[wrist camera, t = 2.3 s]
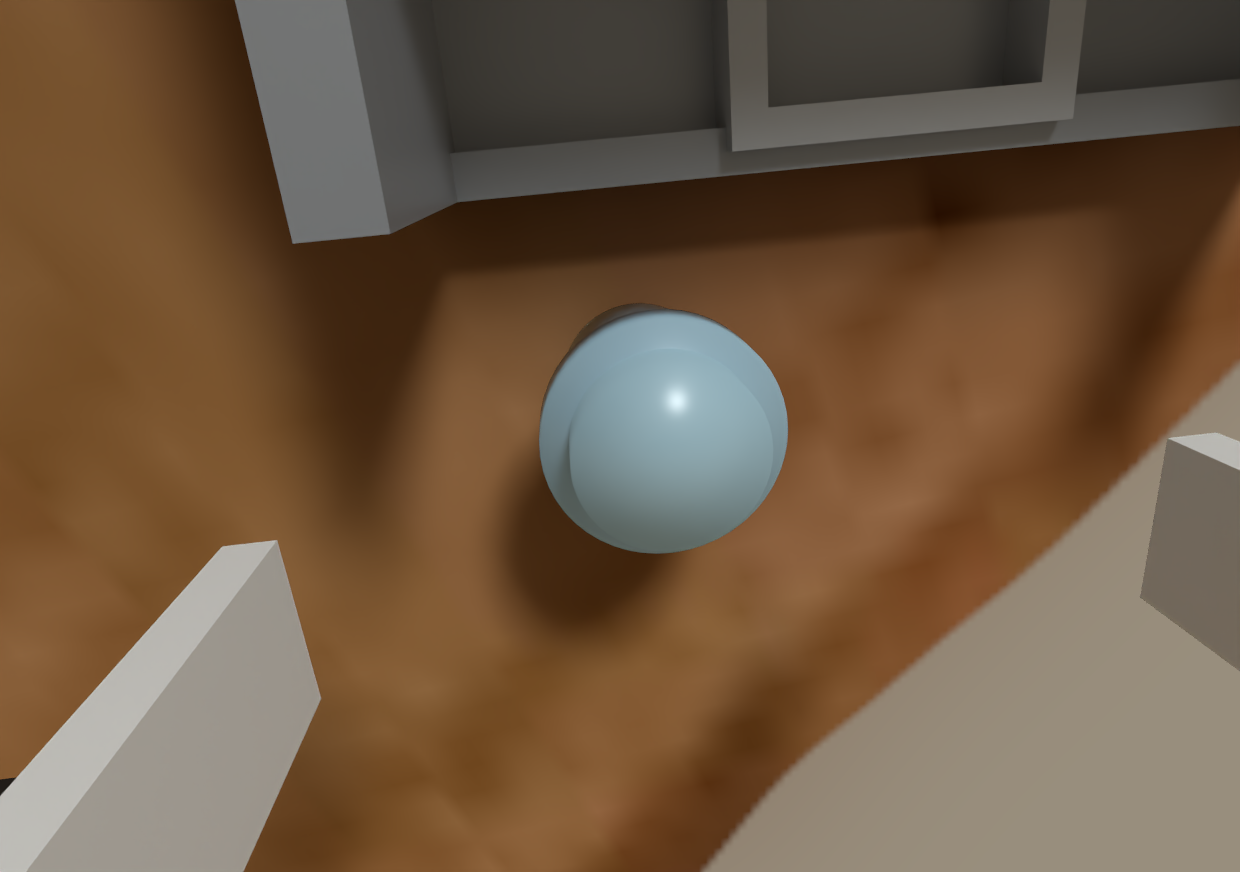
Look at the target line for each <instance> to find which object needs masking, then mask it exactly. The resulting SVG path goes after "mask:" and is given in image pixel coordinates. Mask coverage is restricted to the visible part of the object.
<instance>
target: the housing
mask: <svg viewBox="0 0 1240 872" xmlns="http://www.w3.org/2000/svg"><path fill="white" fill-rule="evenodd" d="M235 3H236V7H237V11H238V15H239V20H240V24H241V28H242V32H243V36H244V41H245V45H246V49H247V53H248V58H249V62H250V66H251V70H252V74H253V79H254V83H255V87H256V91H257V95H258V100H259V104H260V108H261V112H262V116H263V121H264V125H265V129H266V133H267V138H268V142H269V146H270V150H271V154H272V159H273V163H274V167H275V171H276V175H277V180H278V184H279V188H280V192H281V196H282V201H283V205H284V209H285V213H286V218H287V222H288V226H289V230H290V234H291V239H292V243H293V244H294V243H305V242H315V241H325V240H335V239H345V238H355V237H365V236H375V235H385V234H391V233H393V232H396V231H398V230H400V229H402V228H404V227H406V226H408V225H410V224H412V223H415V222H417V221H419V220H421V219H423V218H425V217H427V216H429V215H431V214H434V213H436V212H438V211H440V210H442V209H444V208H446V207H448V206H450V205H453V204H455V203H457V202H464V201H475V200H485V199H495V198H505V197H516V196H526V195H536V194H546V193H556V192H567V191H577V190H587V189H597V188H608V187H618V186H628V185H638V184H649V183H659V182H669V181H679V180H689V179H700V178H710V177H720V176H730V175H741V174H751V173H761V172H771V171H782V170H792V169H802V168H812V167H822V166H833V165H843V164H853V163H863V162H874V161H884V160H894V159H904V158H914V157H925V156H935V155H945V154H955V153H966V152H976V151H986V150H996V149H1007V148H1017V147H1027V146H1037V145H1047V144H1058V143H1068V142H1078V141H1088V140H1099V139H1109V138H1119V137H1129V136H1140V135H1150V134H1160V133H1170V132H1180V131H1191V130H1201V129H1211V128H1221V127H1232V126H1240V0H235Z"/></svg>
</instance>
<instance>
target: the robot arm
mask: <svg viewBox="0 0 1240 872" xmlns="http://www.w3.org/2000/svg"><path fill="white" fill-rule="evenodd" d="M1140 598H1142V599H1143V600H1144V601H1146V602H1147V603H1148V604H1150V605H1151V606H1153V607H1154V608H1155V609H1156V610H1158V611H1159V612H1161V613H1162V614H1163V615H1165V616H1166V617H1168V618H1169V619H1170V620H1171V621H1173V622H1174V623H1175V624H1177V625H1178V626H1179V627H1181V628H1182V629H1184V630H1185V631H1186V632H1188V633H1189V634H1190V635H1192V636H1193V637H1194V638H1196V639H1197V640H1199V641H1200V642H1201V643H1202V644H1204V645H1205V646H1207V647H1208V648H1209V649H1211V650H1212V651H1213V652H1215V653H1216V654H1217V655H1219V656H1220V657H1221V658H1223V659H1224V660H1225V661H1227V662H1228V663H1229V664H1231V665H1232V666H1234V667H1235V668H1236V669H1238V670H1239V671H1240V442H1239V441H1237V440H1234V439H1232V438H1229V437H1227V436H1224V435H1222V434H1219V433H1209V434H1200V435H1192V436H1182V437H1174V438H1168V439H1167V445H1166V450H1165V456H1164V462H1163V468H1162V474H1161V480H1160V486H1159V492H1158V497H1157V503H1156V509H1155V514H1154V520H1153V526H1152V532H1151V538H1150V543H1149V549H1148V555H1147V561H1146V567H1145V573H1144V578H1143V584H1142V591H1141V596H1140ZM320 700H321V697H320V693H319V690H318V686H317V682H316V679H315V675H314V671H313V668H312V664H311V661H310V657H309V653H308V650H307V646H306V643H305V639H304V635H303V632H302V628H301V625H300V621H299V617H298V614H297V610H296V607H295V603H294V599H293V596H292V592H291V589H290V585H289V581H288V578H287V574H286V571H285V567H284V563H283V560H282V556H281V553H280V549H279V545H278V542H277V540H275V541H266V542H258V543H249V544H240V545H232V546H223V547H221V549H220V550H219V551H218V552H217V553H216V554H215V555H214V556H213V558H212V559H211V560H210V561H209V562H208V563H207V564H206V565H205V567H204V568H203V569H202V570H201V571H200V572H199V573H198V574H197V576H196V577H195V578H194V579H193V580H192V581H191V582H190V583H189V585H188V586H187V587H186V588H185V589H184V590H183V591H182V592H181V594H180V595H179V596H178V597H177V598H176V599H175V600H174V601H173V603H172V604H171V605H170V606H169V607H168V608H167V609H166V610H165V612H164V613H163V614H162V615H161V616H160V617H159V618H158V619H157V621H156V622H155V623H154V624H153V625H152V626H151V627H150V628H149V630H148V631H147V632H146V633H145V634H144V635H143V636H142V637H141V639H140V640H139V641H138V642H137V643H136V644H135V645H134V646H133V647H132V649H131V650H130V651H129V652H128V653H127V654H126V655H125V656H124V658H123V659H122V660H121V661H120V662H119V663H118V664H117V665H116V667H115V668H114V669H113V670H112V671H111V672H110V673H109V674H108V676H107V677H106V678H105V679H104V680H103V681H102V682H101V683H100V685H99V686H98V687H97V688H96V689H95V690H94V691H93V692H92V694H91V695H90V696H89V697H88V698H87V699H86V700H85V701H84V703H83V704H82V705H81V706H80V707H79V708H78V709H77V710H76V712H75V713H74V714H73V715H72V716H71V717H70V718H69V719H68V721H67V722H66V723H65V724H64V725H63V726H62V727H61V728H60V730H59V731H58V732H57V733H56V734H55V735H54V736H53V737H52V739H51V740H50V741H49V742H48V743H47V744H46V745H45V746H44V748H43V749H42V750H41V751H40V752H39V753H38V754H37V755H36V757H35V758H34V759H33V760H32V761H31V762H30V763H29V764H28V765H27V767H26V768H25V769H24V770H23V771H22V772H21V773H20V774H19V776H18V777H17V778H9V779H1V780H0V872H243V871H244V869H245V867H246V865H247V862H248V860H249V858H250V856H251V854H252V851H253V849H254V847H255V845H256V842H257V840H258V838H259V836H260V834H261V831H262V829H263V827H264V825H265V822H266V820H267V818H268V816H269V813H270V811H271V809H272V807H273V805H274V802H275V800H276V798H277V796H278V793H279V791H280V789H281V787H282V784H283V782H284V780H285V778H286V776H287V773H288V771H289V769H290V767H291V764H292V762H293V760H294V758H295V756H296V753H297V751H298V749H299V747H300V744H301V742H302V740H303V738H304V735H305V733H306V731H307V729H308V727H309V724H310V722H311V720H312V718H313V715H314V713H315V711H316V709H317V707H318V704H319V702H320Z"/></svg>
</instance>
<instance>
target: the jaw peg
mask: <svg viewBox="0 0 1240 872" xmlns="http://www.w3.org/2000/svg"><path fill="white" fill-rule="evenodd" d="M787 436H788V423H787V412H786V408H785V403H784V399H783V396H782V393H781V391H780V388H779V385H778V383H777V381H776V380H775V378H774V376H773V374H772V372H771V371H770V369H769V368H768V367H767V365H766V364H765V363H764V361H763V360H762V359H761V357H759V356H758V355H757V354H756V353H755V352H754V351H753V350H752V349H751V348H750V347H749V346H748V345H747V344H746V343H745V342H744V341H743V340H742V339H741V338H740V337H738V336H737V335H736V334H735V333H733V332H732V331H731V330H729V329H728V328H726V327H725V326H723V325H721V324H719V323H718V322H716V321H714V320H712V319H709V318H707V317H704V316H702V315H699V314H695V313H691V312H687V311H682V310H672V309H667V308H664V307H661V306H657V305H653V304H644V303H636V304H627V305H621V306H618V307H615V308H612V309H610V310H608V311H605V312H603V313H602V314H600V315H598V316H597V317H595V318H594V319H593V320H591V321H590V322H589V323H588V324H587V325H586V326H585V327H584V328H583V329H582V330H581V331H580V332H579V334H578V335H577V337H576V338H575V339H574V341H573V343H572V345H571V347H570V349H569V352H568V353H567V354H566V355H565V357H564V358H563V359H562V361H561V362H560V364H559V365H558V366H557V368H556V370H555V372H554V374H553V375H552V377H551V379H550V381H549V384H548V386H547V389H546V392H545V395H544V398H543V403H542V408H541V415H540V433H539V445H540V458H541V463H542V468H543V473H544V475H545V478H546V481H547V484H548V486H549V488H550V490H551V492H552V494H553V496H554V498H555V500H556V501H557V502H558V504H559V505H560V507H561V508H562V509H563V511H564V512H565V513H566V514H567V515H568V516H569V517H570V518H571V519H572V520H573V521H574V522H575V523H576V524H577V525H578V526H579V527H581V528H582V529H583V530H584V531H586V532H587V533H589V534H590V535H592V536H594V537H595V538H597V539H599V540H601V541H603V542H605V543H608V544H610V545H612V546H615V547H618V548H622V549H625V550H629V551H635V552H641V553H656V554H659V553H674V552H679V551H684V550H689V549H693V548H696V547H699V546H702V545H705V544H707V543H709V542H712V541H714V540H716V539H718V538H720V537H722V536H724V535H725V534H727V533H729V532H730V531H732V530H733V529H735V528H736V527H737V526H739V525H740V524H741V523H743V522H744V521H745V520H746V519H747V518H748V517H749V516H750V515H751V514H752V513H753V512H754V511H755V510H756V509H757V508H758V507H759V505H760V504H761V503H762V502H763V501H764V499H765V498H766V496H767V495H768V493H769V492H770V490H771V489H772V487H773V485H774V483H775V481H776V479H777V477H778V475H779V472H780V469H781V466H782V463H783V460H784V457H785V452H786V446H787Z"/></svg>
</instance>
